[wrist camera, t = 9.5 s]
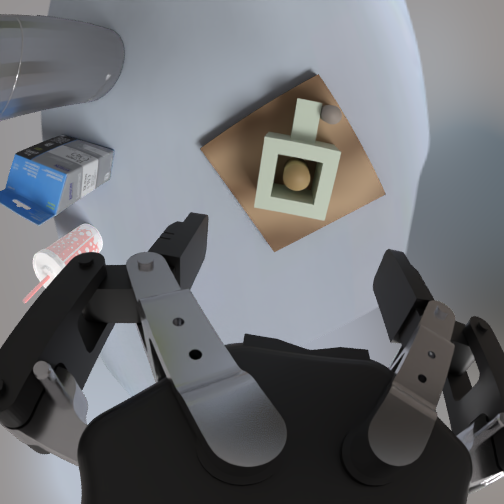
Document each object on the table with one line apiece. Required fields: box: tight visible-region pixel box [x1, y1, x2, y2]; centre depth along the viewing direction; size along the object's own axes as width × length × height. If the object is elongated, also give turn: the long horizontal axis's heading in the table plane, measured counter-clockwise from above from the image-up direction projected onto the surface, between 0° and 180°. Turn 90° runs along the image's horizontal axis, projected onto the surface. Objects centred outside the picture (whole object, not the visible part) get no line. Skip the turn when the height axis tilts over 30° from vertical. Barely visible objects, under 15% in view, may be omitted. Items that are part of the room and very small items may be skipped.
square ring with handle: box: [254, 98, 341, 221], centre depth 23 cm, size 10×6×4 cm, turn 172°
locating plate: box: [200, 74, 385, 252], centre depth 24 cm, size 13×13×4 cm
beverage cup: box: [23, 223, 103, 303], centre depth 28 cm, size 6×6×14 cm
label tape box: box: [0, 135, 114, 226], centre depth 23 cm, size 9×4×12 cm, turn 69°
